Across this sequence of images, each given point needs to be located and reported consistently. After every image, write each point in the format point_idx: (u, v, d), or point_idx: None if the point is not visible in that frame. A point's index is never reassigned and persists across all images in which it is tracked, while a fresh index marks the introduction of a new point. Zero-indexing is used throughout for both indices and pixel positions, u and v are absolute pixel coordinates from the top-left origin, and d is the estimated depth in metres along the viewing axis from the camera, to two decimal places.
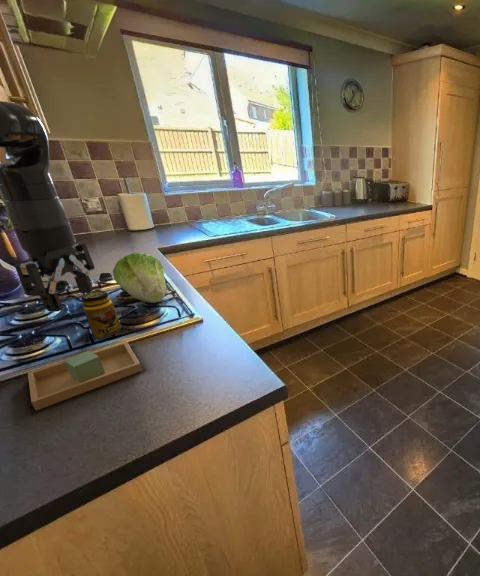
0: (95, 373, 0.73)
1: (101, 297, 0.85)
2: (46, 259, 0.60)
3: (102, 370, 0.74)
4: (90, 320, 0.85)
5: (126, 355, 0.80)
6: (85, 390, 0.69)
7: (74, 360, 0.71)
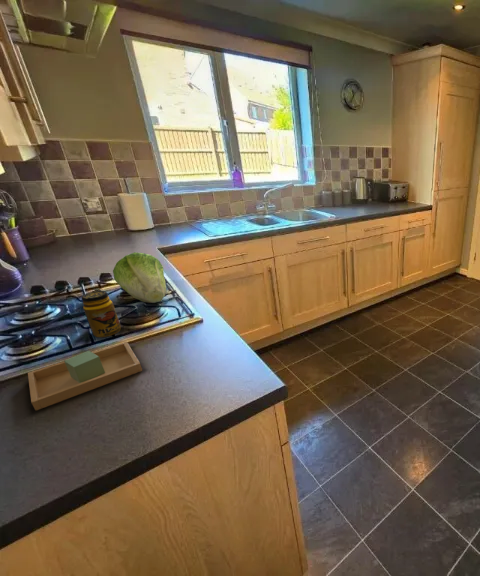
0: (95, 373, 0.73)
1: (101, 297, 0.85)
2: None
3: (102, 370, 0.74)
4: (90, 320, 0.85)
5: (126, 355, 0.80)
6: (85, 390, 0.69)
7: (74, 360, 0.71)
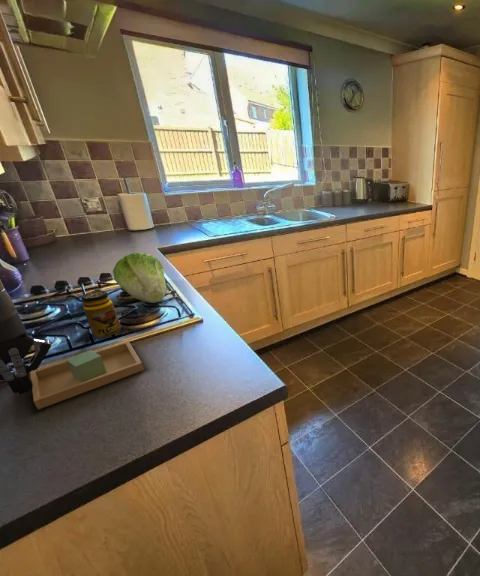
0: (97, 372, 0.73)
1: (101, 297, 0.85)
2: None
3: (104, 369, 0.74)
4: (90, 320, 0.85)
5: (128, 355, 0.81)
6: (87, 389, 0.69)
7: (76, 360, 0.71)
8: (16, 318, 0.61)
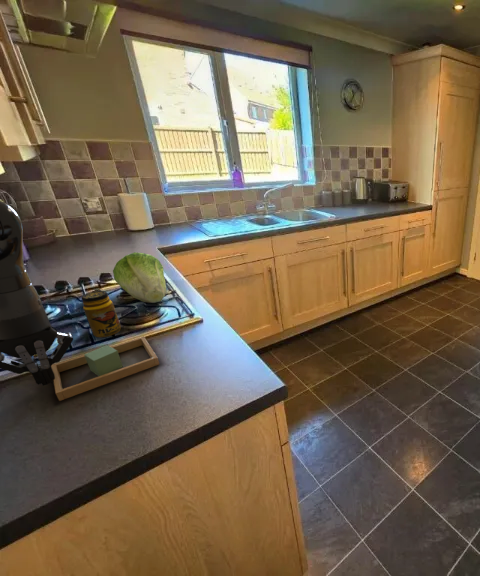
0: (113, 367, 0.75)
1: (101, 297, 0.85)
2: (0, 346, 0.61)
3: (120, 364, 0.76)
4: (90, 320, 0.85)
5: None
6: (106, 382, 0.71)
7: (94, 354, 0.73)
8: (42, 312, 0.64)
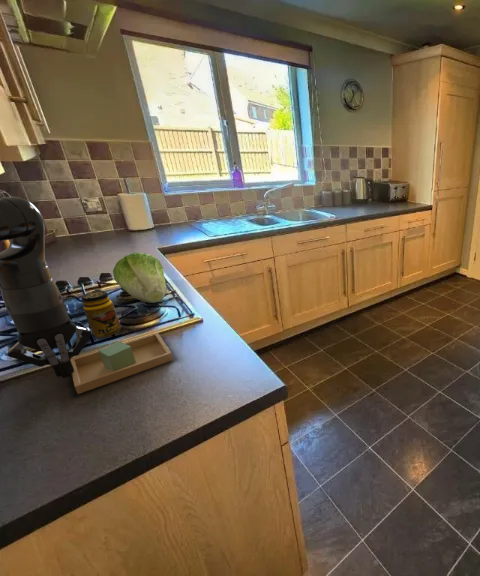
0: (127, 362, 0.76)
1: (101, 297, 0.85)
2: (23, 340, 0.63)
3: (133, 359, 0.77)
4: (90, 320, 0.85)
5: (158, 346, 0.85)
6: (122, 377, 0.73)
7: (108, 350, 0.75)
8: (62, 306, 0.66)
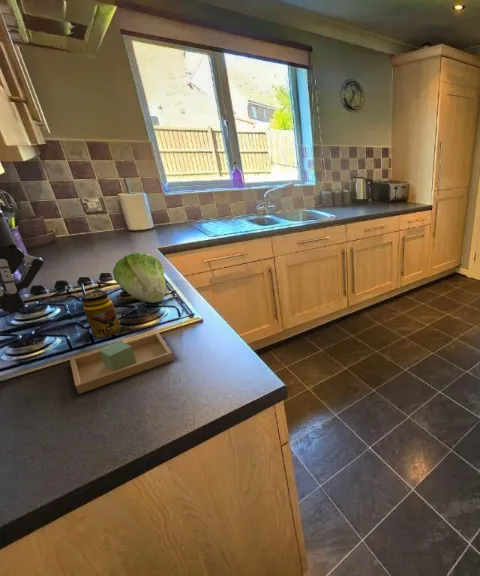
0: (128, 362, 0.76)
1: (101, 297, 0.85)
2: None
3: (134, 359, 0.78)
4: (90, 320, 0.85)
5: (158, 345, 0.85)
6: (122, 376, 0.73)
7: (109, 350, 0.75)
8: (4, 225, 0.57)
